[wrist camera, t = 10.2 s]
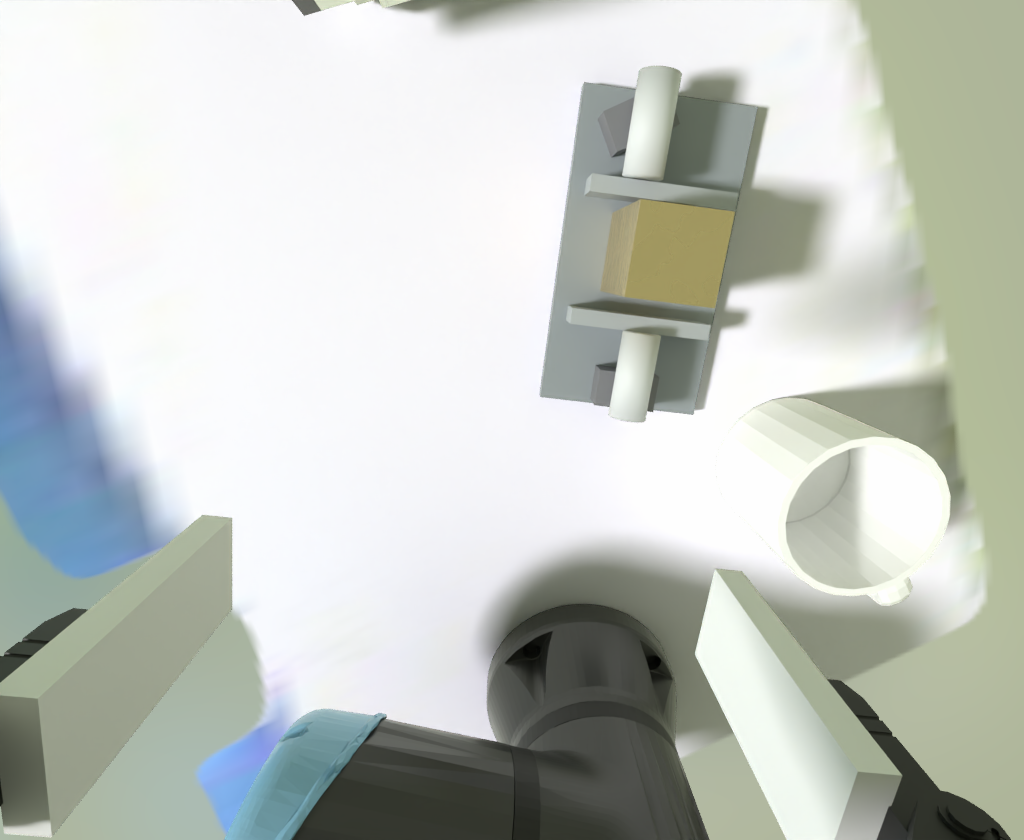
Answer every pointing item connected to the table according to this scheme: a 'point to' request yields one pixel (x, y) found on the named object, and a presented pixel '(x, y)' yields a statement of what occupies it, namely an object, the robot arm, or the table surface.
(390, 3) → the ball valve
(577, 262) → the shaft rig
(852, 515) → the mug
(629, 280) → the coupling block
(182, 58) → the table surface
